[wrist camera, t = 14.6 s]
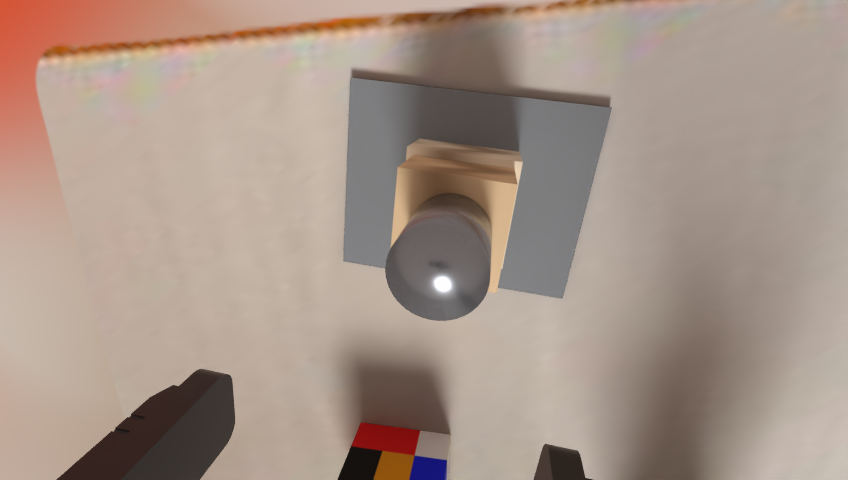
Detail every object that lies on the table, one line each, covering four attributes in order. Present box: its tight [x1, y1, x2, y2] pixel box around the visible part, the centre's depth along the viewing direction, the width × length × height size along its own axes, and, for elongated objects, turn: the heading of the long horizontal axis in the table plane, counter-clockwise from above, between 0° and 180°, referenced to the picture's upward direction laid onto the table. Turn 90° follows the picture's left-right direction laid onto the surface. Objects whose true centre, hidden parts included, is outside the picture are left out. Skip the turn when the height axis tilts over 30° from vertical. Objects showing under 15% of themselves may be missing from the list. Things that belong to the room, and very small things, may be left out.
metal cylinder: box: [385, 193, 492, 321], centre depth 22 cm, size 5×5×6 cm
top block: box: [391, 155, 518, 293], centre depth 27 cm, size 7×7×5 cm
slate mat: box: [343, 78, 612, 298], centre depth 34 cm, size 20×16×1 cm
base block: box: [406, 139, 523, 269], centre depth 32 cm, size 8×8×5 cm
